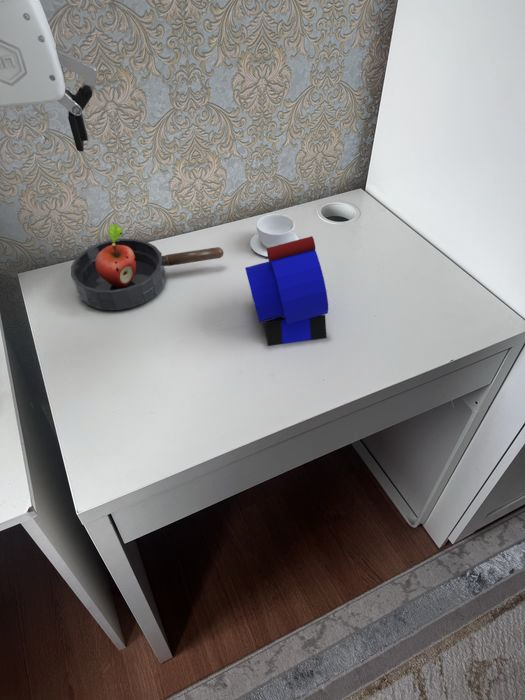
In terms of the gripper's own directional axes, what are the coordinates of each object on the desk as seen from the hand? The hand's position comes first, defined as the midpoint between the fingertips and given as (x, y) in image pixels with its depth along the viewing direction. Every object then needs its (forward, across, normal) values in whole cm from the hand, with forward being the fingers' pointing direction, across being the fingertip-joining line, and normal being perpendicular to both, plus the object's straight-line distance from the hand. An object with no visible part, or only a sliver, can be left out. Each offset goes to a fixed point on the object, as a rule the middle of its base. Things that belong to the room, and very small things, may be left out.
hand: (39, 151), depth 57 cm
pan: (+29, +4, +12) cm, 32 cm away
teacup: (+29, +34, +16) cm, 48 cm away
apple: (+29, +4, +12) cm, 32 cm away
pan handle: (+27, +17, +12) cm, 34 cm away
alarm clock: (+30, +30, -4) cm, 42 cm away
